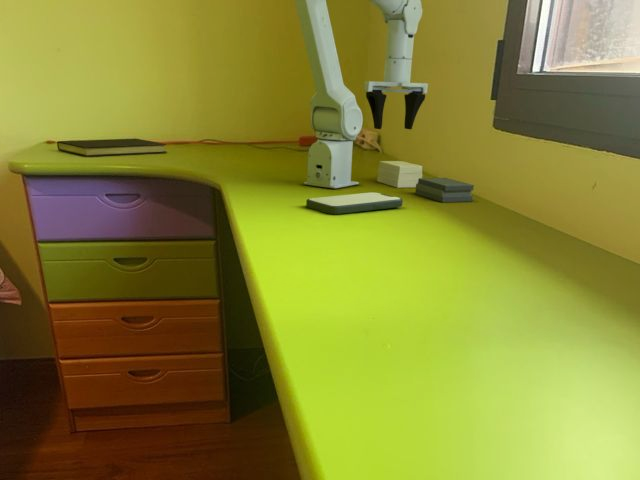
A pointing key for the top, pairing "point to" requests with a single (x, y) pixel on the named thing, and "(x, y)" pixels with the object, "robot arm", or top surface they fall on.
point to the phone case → (354, 203)
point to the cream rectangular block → (398, 178)
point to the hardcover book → (111, 147)
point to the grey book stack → (444, 189)
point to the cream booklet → (400, 167)
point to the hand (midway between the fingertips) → (393, 128)
